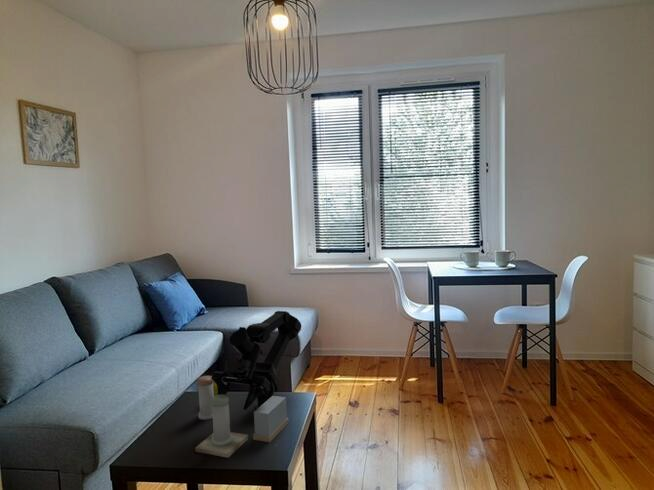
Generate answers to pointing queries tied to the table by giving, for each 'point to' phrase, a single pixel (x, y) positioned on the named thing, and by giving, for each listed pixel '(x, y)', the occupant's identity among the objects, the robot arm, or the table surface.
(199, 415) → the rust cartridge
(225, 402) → the knob
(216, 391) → the lemon
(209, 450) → the pad
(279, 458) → the table surface
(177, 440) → the table surface
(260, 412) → the block
